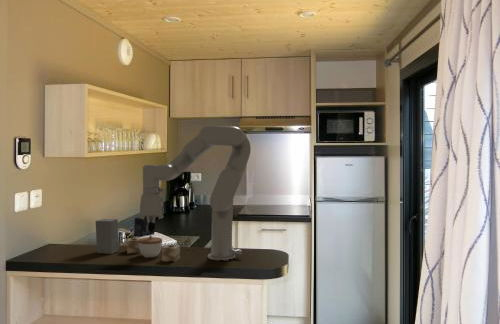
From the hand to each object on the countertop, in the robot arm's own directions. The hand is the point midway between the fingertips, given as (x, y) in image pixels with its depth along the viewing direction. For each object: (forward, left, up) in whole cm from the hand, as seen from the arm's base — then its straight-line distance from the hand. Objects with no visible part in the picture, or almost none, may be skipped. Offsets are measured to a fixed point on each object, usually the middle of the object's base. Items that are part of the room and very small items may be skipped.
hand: (151, 231), depth 190 cm
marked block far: (+11, -8, -12) cm, 18 cm away
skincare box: (+23, -5, -12) cm, 26 cm away
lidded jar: (+1, 0, -12) cm, 12 cm away
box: (+18, -51, -12) cm, 55 cm away
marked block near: (-10, +6, -12) cm, 17 cm away
